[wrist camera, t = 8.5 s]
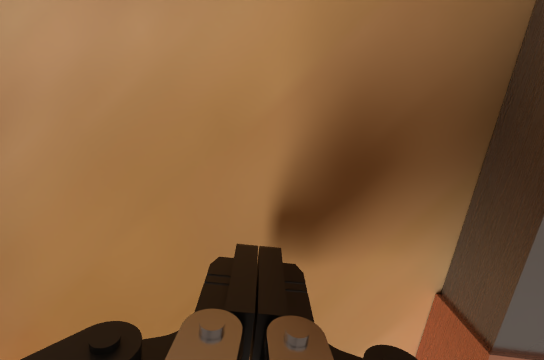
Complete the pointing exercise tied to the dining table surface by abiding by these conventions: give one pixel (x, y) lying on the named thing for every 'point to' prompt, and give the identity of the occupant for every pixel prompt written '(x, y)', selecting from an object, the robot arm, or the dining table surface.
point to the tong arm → (501, 234)
